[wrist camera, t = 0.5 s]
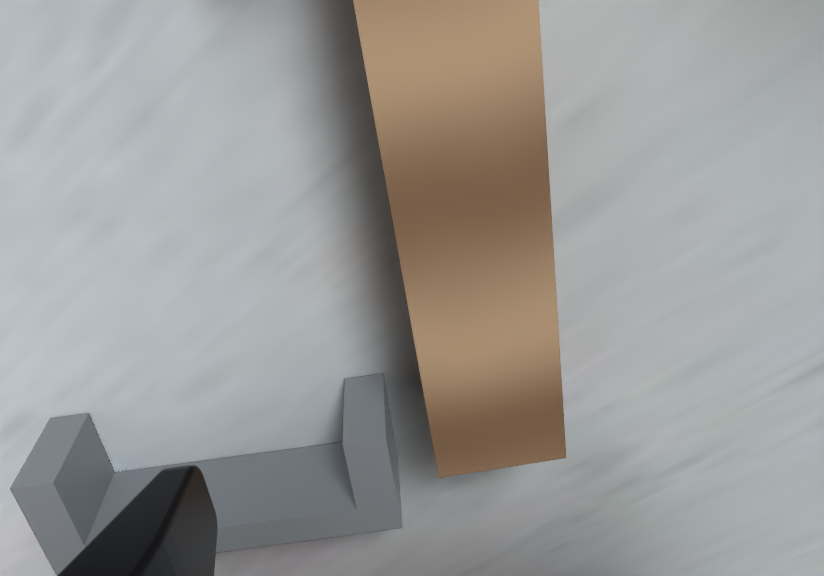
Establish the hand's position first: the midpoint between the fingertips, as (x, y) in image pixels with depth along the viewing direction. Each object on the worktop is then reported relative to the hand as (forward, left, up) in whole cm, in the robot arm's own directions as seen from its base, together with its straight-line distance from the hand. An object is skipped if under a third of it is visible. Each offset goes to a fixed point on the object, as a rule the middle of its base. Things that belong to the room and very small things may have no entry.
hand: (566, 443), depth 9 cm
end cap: (-9, +8, -12) cm, 17 cm away
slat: (0, 0, -12) cm, 12 cm away
